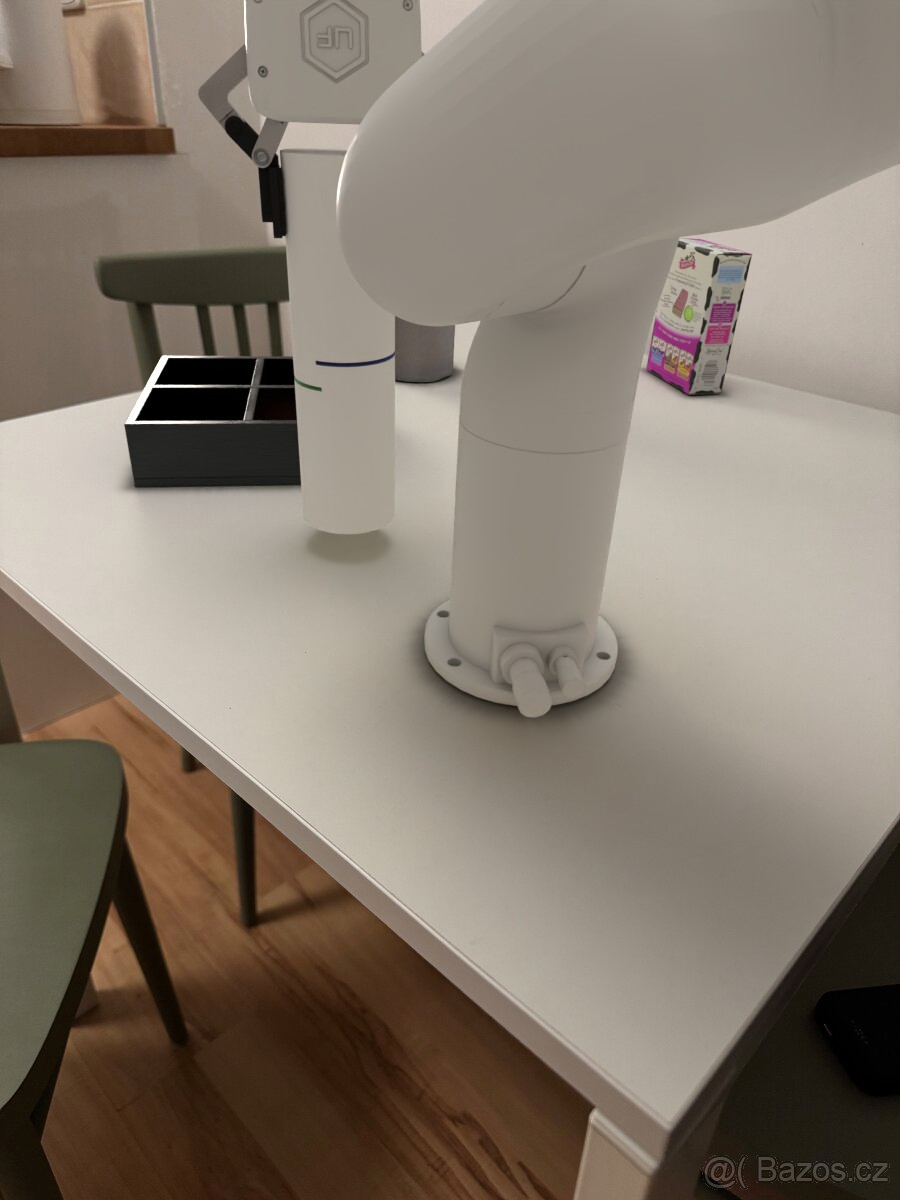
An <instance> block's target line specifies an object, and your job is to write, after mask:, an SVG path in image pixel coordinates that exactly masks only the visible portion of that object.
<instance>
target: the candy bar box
mask: <svg viewBox="0 0 900 1200" xmlns="http://www.w3.org/2000/svg"><path fill="white" fill-rule="evenodd" d="M752 257H753V253H751V252H746V251H743V250H740V249H736V248H734V247H730V246H726V245H722V244H719V243H717V242H713V241H708V240H706V239H701V238H686V237H684V238H683V237H680V238H679V242H678V245H677V249H676V252H675V256H674V259H673V262H672V265H671V268H670V271H669V274H668V277H667V279H666V282H665V285H664V288H663V291H662V294H661V297H660V299H659V302H658V305H657V308H656V311H655V315H654V323H653V328H652V334H651V339H650V345H649V346H650V347H649V351H648V358H647V363H646V368H645V369H646V371H648V372H649V373H651V374H653V376H656V377H657V378H659V379H660V380H663V381H664V382H666V383H668V384H669V385H671V386H673V387H674V388H676V389H678V390H680V391H682V392H683V393H685V394H687V395H689V396H696V395H697V396H699V395H716V394H721V393H722V392H723V387H724V382H725V377H726V374H727V369H728V364H729V360H730V355H731V350H732V346H733V341H734V338H735V332H736V327H737V324H738V323H737V322H738V319H739V315H740V310H741V306H742V302H743V296H744V293H745V287H746V283H747V278H748V275H749V271H750V265H751V262H752Z"/></svg>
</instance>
